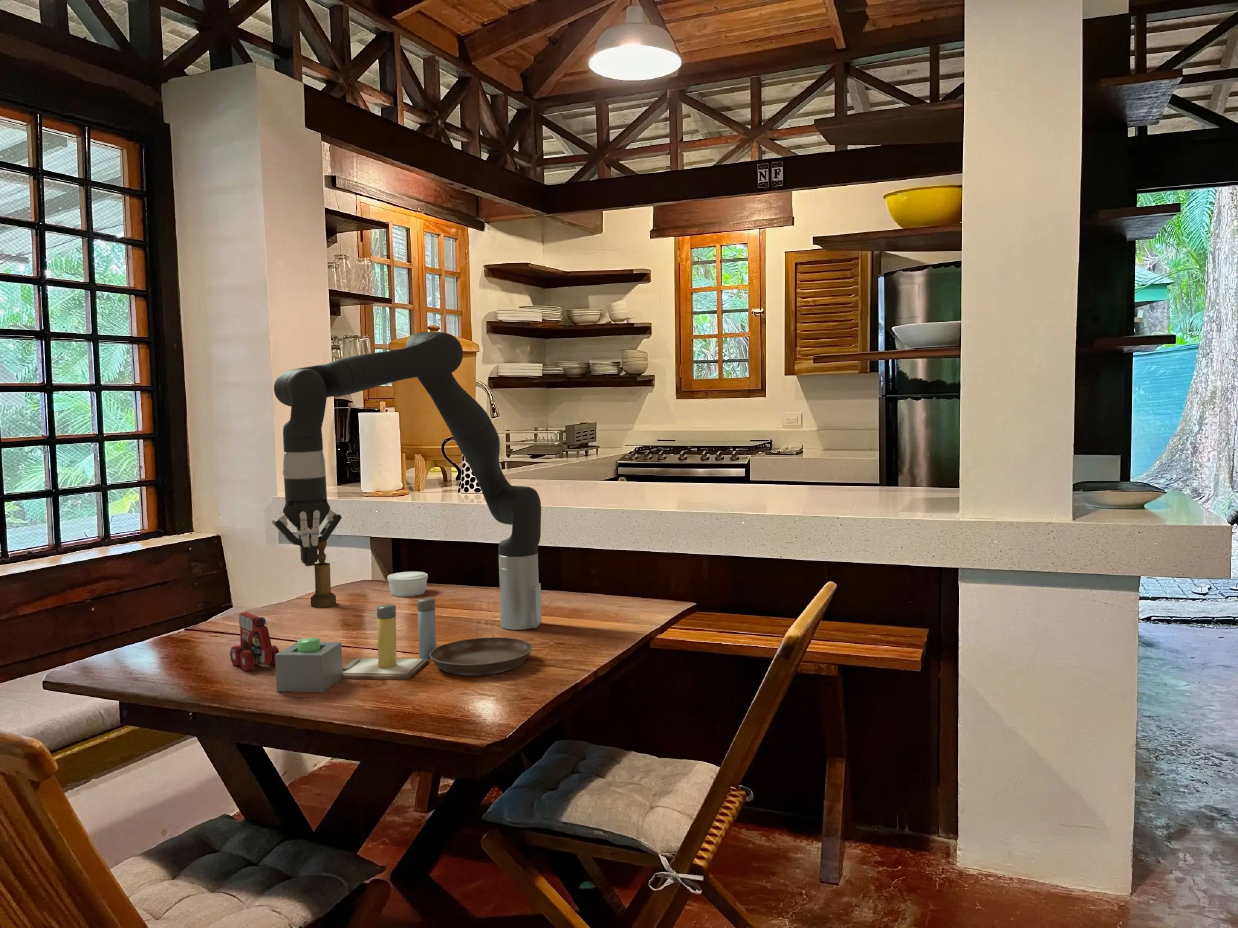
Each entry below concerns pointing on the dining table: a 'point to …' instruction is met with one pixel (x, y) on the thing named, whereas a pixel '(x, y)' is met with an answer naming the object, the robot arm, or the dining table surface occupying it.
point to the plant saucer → (481, 655)
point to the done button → (309, 645)
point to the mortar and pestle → (322, 581)
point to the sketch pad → (382, 669)
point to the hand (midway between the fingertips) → (309, 565)
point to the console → (309, 668)
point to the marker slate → (426, 626)
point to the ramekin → (407, 583)
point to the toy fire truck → (253, 643)
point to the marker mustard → (386, 636)
